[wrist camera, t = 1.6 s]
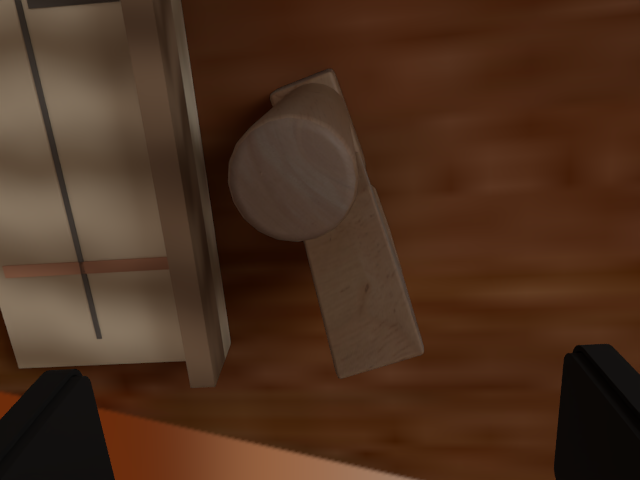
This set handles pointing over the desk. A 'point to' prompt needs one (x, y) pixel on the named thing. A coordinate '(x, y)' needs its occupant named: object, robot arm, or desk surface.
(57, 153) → the marking board
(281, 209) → the wooden block
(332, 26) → the desk surface
